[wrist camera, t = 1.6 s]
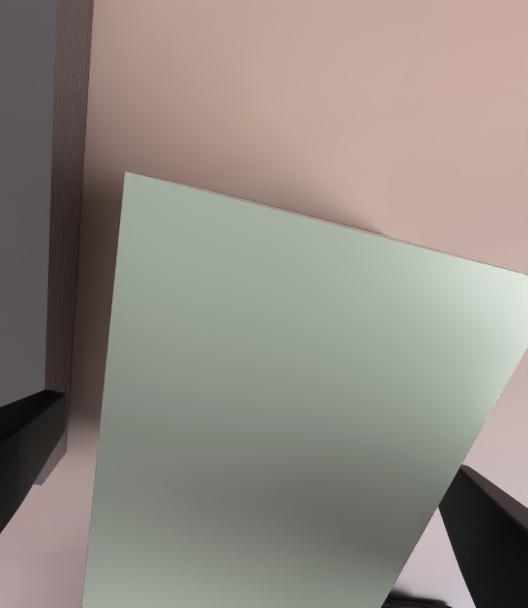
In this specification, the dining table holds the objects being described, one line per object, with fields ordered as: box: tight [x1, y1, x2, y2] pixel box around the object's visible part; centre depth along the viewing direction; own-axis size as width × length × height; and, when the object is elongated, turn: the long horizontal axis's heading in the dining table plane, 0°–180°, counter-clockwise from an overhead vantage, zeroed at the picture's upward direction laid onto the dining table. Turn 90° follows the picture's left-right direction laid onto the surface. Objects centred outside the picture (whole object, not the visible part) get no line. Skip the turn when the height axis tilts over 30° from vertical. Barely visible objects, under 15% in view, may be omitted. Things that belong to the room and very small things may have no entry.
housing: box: [82, 171, 528, 608], centre depth 8 cm, size 10×6×6 cm, turn 166°
